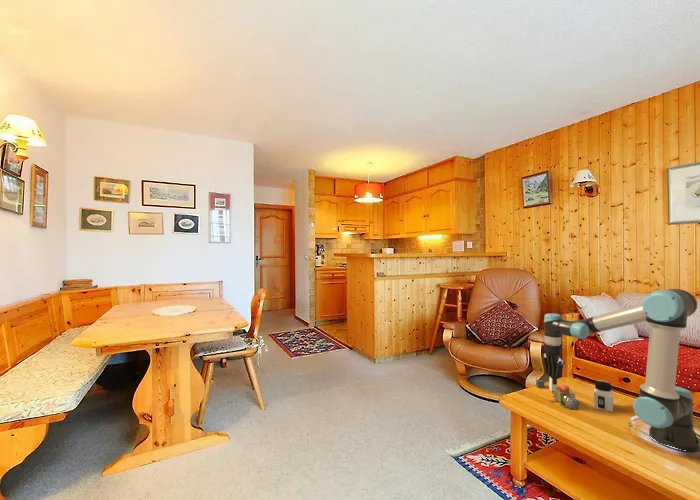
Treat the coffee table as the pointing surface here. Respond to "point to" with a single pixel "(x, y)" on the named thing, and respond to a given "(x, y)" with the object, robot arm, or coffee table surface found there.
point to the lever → (541, 385)
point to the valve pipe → (566, 398)
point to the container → (603, 396)
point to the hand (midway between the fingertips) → (552, 389)
